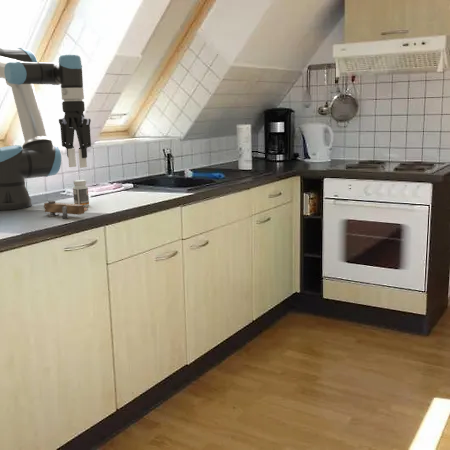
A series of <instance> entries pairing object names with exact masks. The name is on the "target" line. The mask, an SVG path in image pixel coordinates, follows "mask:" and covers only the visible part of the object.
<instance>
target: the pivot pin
mask: <svg viewBox="0 0 450 450" xmlns="http://www.w3.org/2000/svg"><path fill="white" fill-rule="evenodd" d="M46 216H47V217H56V216H57V217H58V216H60V213H55V212H49V213H47V214H46Z"/></svg>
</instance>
